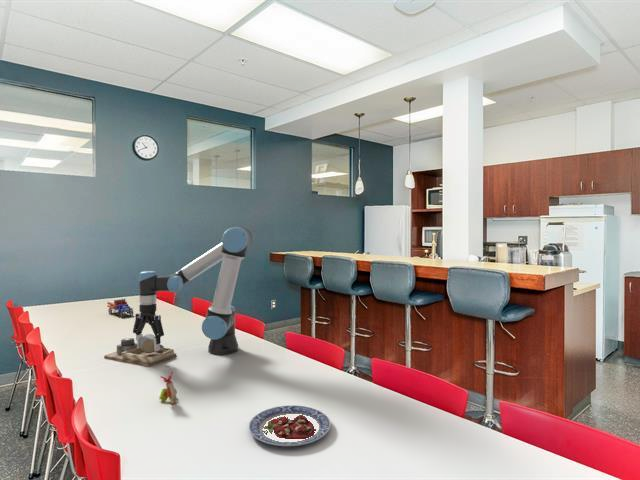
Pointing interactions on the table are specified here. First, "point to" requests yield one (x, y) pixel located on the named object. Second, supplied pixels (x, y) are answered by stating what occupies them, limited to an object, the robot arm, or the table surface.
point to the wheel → (127, 341)
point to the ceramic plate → (289, 425)
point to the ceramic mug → (149, 344)
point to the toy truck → (120, 307)
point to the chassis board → (140, 355)
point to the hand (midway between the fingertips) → (148, 349)
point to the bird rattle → (168, 390)
